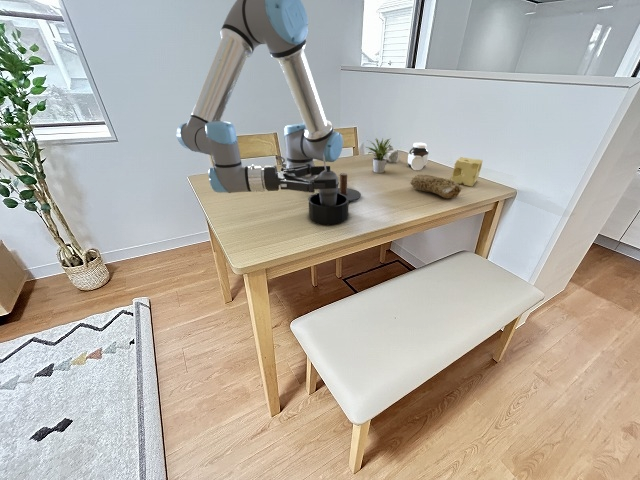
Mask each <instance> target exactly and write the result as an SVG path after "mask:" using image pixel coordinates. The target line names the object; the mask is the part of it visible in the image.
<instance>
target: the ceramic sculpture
mask: <svg viewBox="0 0 640 480" xmlns="http://www.w3.org/2000/svg"><path fill="white" fill-rule="evenodd" d="M388 146H389V145H388ZM388 146H387V147H388ZM386 150H388V151H386V152H389V153H387V154H385V156H384V157H383V158H386V159H387V161H386V162H390V163H391V164H395V163H396V162H397V161H399V157H400V152H399V150H398V149H396V150H395V149H394V147H393V146H392V145H390V146H389V147H388V148H387V149H386ZM373 156H374V157H377V156H376V154H373Z"/></svg>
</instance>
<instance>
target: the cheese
mask: <svg viewBox="0 0 640 480" xmlns="http://www.w3.org/2000/svg"><path fill="white" fill-rule="evenodd" d="M483 161H484V160H483V159H480V158H479V159H478V158H470V157H463V156H460V157H459V158H458V159H457V160H456V161H455V162H454V166H453V171H452V174H451V179H450V180H452V181H453V182H455V183H457V184H459V185H464V186H468V187H473V186H474V185H475V184H476V182H477V180H478V178H479V176H480V173H481V170H482V166H483Z"/></svg>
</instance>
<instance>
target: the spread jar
mask: <svg viewBox="0 0 640 480" xmlns="http://www.w3.org/2000/svg"><path fill="white" fill-rule="evenodd" d="M412 145H413V146H412V147H411V148H410V149H409V150H408V151H409V152H408V156H407V164H408V166H409V167H410V168H412V170H414V171H421V170H423V168H425V167H426V165H427V164H428V160H429V150H428V149H427V146H428V144H427V143H425V142H413V144H412Z"/></svg>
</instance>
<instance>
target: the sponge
mask: <svg viewBox="0 0 640 480" xmlns="http://www.w3.org/2000/svg"><path fill="white" fill-rule="evenodd" d="M410 185H411V186H412V188H414V189H416V190H420V191H421V192H426V193H434V194H435V195H438V196H440V197H442V198H443V199H451V198H452V199H453V198H455V199H456V198H457V197H458V196H459V195H460V194H461V192H462V186H461V184H458V183H455V182H453V181H452V180H451V179H449V178H444V177H438V176H434V175H430V174H417V175H415V176H412V178H411V180H410Z"/></svg>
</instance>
